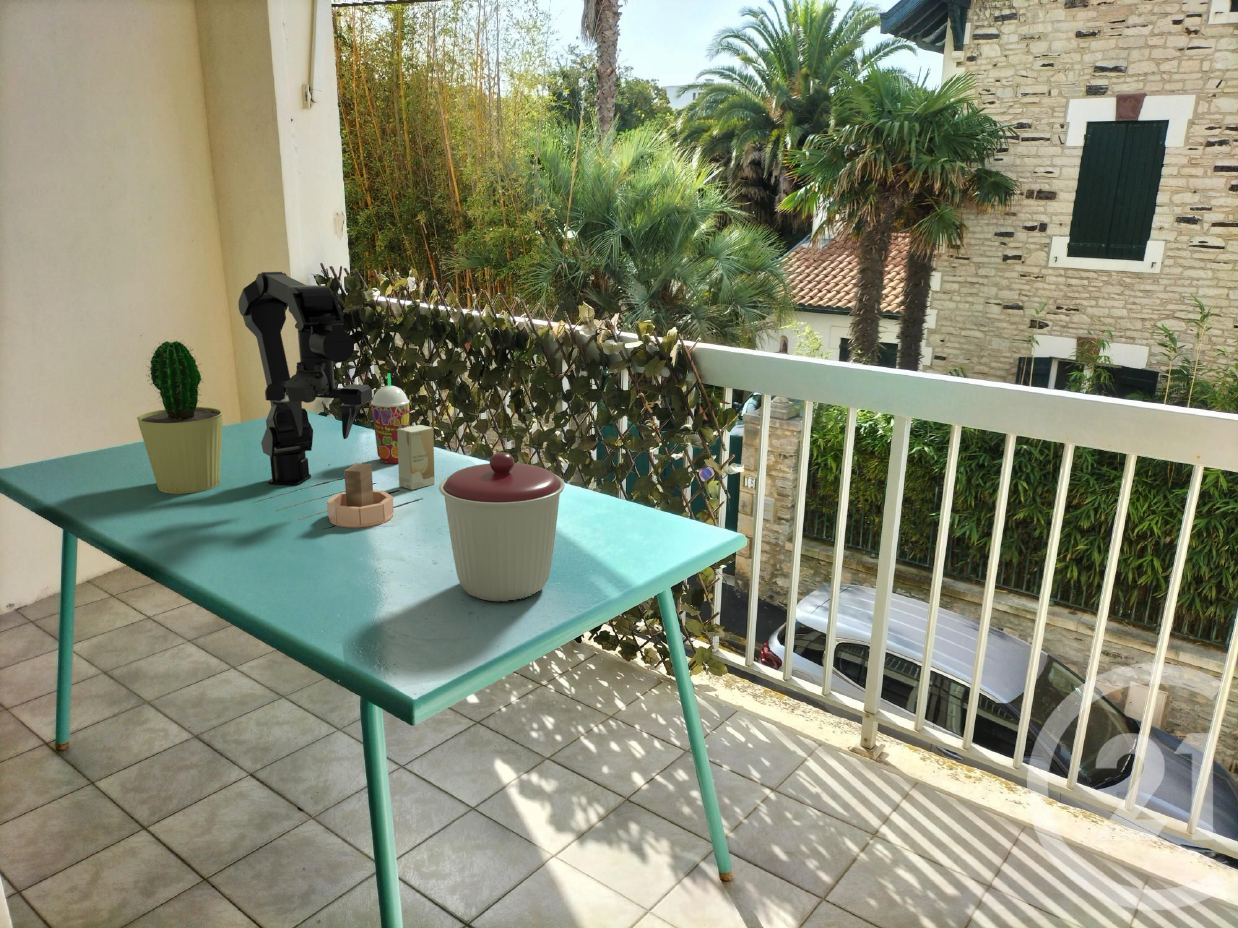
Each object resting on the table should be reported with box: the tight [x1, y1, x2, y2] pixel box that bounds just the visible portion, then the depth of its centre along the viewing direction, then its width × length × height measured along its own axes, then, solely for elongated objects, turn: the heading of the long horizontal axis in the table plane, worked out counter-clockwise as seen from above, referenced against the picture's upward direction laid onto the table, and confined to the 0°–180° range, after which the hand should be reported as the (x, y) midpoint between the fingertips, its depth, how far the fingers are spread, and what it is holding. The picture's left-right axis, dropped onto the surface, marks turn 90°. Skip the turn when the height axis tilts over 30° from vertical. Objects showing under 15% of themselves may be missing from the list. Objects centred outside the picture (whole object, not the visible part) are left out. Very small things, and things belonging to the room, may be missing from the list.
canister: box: [438, 451, 565, 602], centre depth 127 cm, size 18×18×21 cm
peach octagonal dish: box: [326, 489, 395, 529], centre depth 158 cm, size 11×11×4 cm
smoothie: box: [370, 372, 410, 464], centre depth 193 cm, size 8×8×20 cm
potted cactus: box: [136, 340, 224, 495], centre depth 171 cm, size 15×15×30 cm
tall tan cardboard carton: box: [343, 462, 374, 507], centre depth 157 cm, size 3×5×9 cm, turn 173°
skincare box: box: [397, 424, 435, 491], centre depth 177 cm, size 6×4×12 cm
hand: (322, 437), depth 163 cm, fingers open, 9 cm apart
